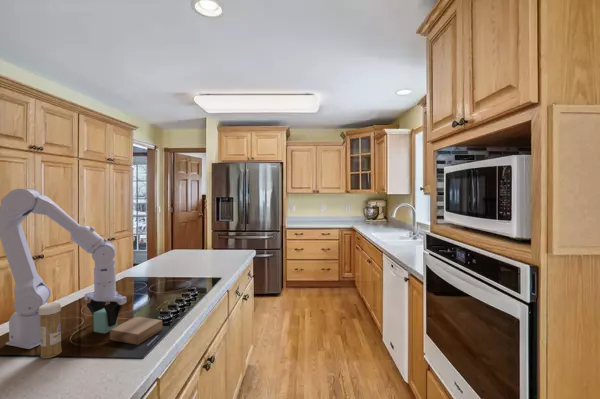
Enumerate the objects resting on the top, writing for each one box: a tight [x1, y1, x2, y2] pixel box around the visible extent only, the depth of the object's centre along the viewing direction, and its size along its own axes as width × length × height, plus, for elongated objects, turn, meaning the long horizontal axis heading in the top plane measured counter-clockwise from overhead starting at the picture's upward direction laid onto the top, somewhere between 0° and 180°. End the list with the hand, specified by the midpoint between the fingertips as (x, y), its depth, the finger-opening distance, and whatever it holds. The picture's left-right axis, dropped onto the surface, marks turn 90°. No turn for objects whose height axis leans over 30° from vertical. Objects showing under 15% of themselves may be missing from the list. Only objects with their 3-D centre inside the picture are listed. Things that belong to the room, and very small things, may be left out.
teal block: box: [93, 308, 119, 334], centre depth 100 cm, size 4×4×6 cm
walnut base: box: [109, 316, 163, 346], centre depth 97 cm, size 10×10×3 cm
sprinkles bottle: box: [39, 302, 62, 359], centre depth 85 cm, size 5×5×14 cm
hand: (105, 324), depth 100 cm, fingers closed on teal block, 4 cm apart
